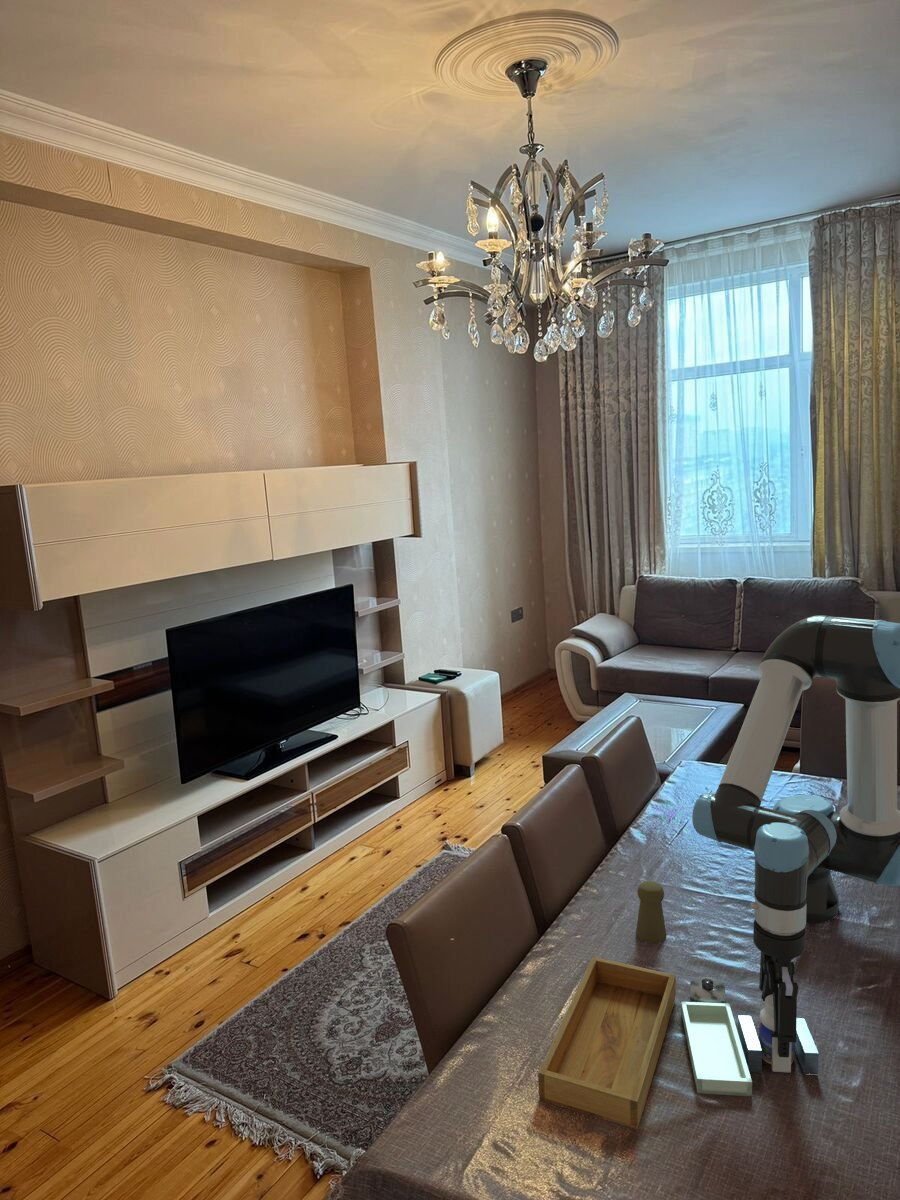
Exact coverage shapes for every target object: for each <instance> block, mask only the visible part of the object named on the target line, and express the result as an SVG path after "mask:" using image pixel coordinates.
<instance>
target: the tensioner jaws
mask: <svg viewBox="0 0 900 1200" xmlns="http://www.w3.org/2000/svg"><path fill="white" fill-rule="evenodd" d="M754 1024H755V1023H754V1022H753V1019H752V1016H751V1015H738V1017H737V1032H738V1035H739V1039H740V1042H741V1046H742V1049H743V1053H744V1056H745V1059H746V1063H747V1066H748V1070H749V1073H751V1074H753V1073H755V1074H762V1066H763V1065H762V1064H763V1063H762V1061H763V1059H762V1049H761V1046H760V1043H759V1036H758V1034H757V1030H756V1027H755V1025H754ZM796 1037H797V1040H796V1043H795V1051H794V1053H795V1055H796V1056H797V1059H799V1060H798V1062H799V1065H800V1068H801V1067H802V1068H801V1069H803V1070H802V1073H803V1072H804V1073H803V1075H804V1074H809V1073H810V1074H818V1075H819V1057H820V1056H819V1055H820V1053H819V1051H818V1049H817V1045H816V1044H815V1041H814V1039H813V1036H812V1034H811V1032H810V1029H809V1027H808V1024H807V1022H806V1020H805V1018H803V1017H802V1018H801V1017H800V1018H799V1017H797V1025H796Z"/></svg>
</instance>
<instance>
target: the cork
mask: <svg viewBox="0 0 900 1200" xmlns="http://www.w3.org/2000/svg"><path fill="white" fill-rule="evenodd" d="M637 896H638V899H639V900H640V901H639V906H638V907H639V908H638V915H637V922H636V930H635V936H636V937H637V939H639V940H640V942H641V941H642V942H644V943H646V944H659V943H662V942H664V941H665V940H667V931H666V930H667V929H666V924H665V916H664V910H663V905H662V903H663V902H662V901H663V900H664V896H665V890H664V887H663V886H662V885H661V884H660V883H659V882H656V881H652V880H648V881H647V880H646V881H643V882H640V884H639V885H638V888H637Z"/></svg>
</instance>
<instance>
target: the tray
mask: <svg viewBox="0 0 900 1200" xmlns="http://www.w3.org/2000/svg"><path fill="white" fill-rule="evenodd" d="M676 982H677V981H676V975H675V974H672V973H668V972H662V971H658V970H655V969H650V968H646V967H645V968H644V967H641V966H636V965H633V964H627V963H624V962H618V961H614V960H609V959H606V958H605V959H604V958H600V957H596V956H592V958H591V960H590V961H589V963H588V966H587V968H586V970H585V972H584V974H583V976H582V979H581V982H580V983H579V985H578V987H577V989H576V991H575V994H574V995H573V998H572V1000H571V1002H570V1005H569V1006H568V1008H567V1011H566V1013H565V1014H564V1017H563V1019H562V1021H561V1023H560V1025H559V1027H558V1030H557V1032H556V1034H555V1036H554V1038H553V1040H552V1043H551V1044H550V1047H549V1049H548V1051H547V1053H546V1055H545V1056H544V1060H543V1062H542V1063H541V1065H540V1068H539V1070H538V1071H537V1074H538V1075H537V1077H538V1096H539V1101H542V1102H544V1103H548V1104H551V1103H552V1105H554V1106H558V1105H559V1106H558V1107H561V1106H563V1107H562V1108H564V1107H566V1108H565V1109H567V1108H570V1109H569V1110H571V1109H573V1110H572V1111H574V1110H576V1111H575V1112H577V1111H579V1112H578V1113H581V1112H583V1113H582V1114H585V1115H587V1116H591V1117H594V1116H595V1118H598V1119H601V1118H602V1120H604V1119H605V1121H607V1120H609V1121H608V1122H611V1121H612V1122H611V1123H614V1122H615V1123H614V1124H618V1125H621V1126H625V1127H627V1126H628V1128H631V1129H634V1130H638V1129H639V1126H640V1123H641V1120H642V1115H643V1113H644V1108H645V1106H646V1102H647V1098H648V1095H649V1091H650V1087H651V1085H652V1084H651V1083H652V1081H653V1078H654V1074H655V1070H656V1067H657V1064H658V1060H659V1057H660V1053H661V1049H662V1046H663V1043H664V1039H665V1035H666V1032H667V1028H668V1025H669V1022H670V1019H671V1015H672V1011H673V1007H674V1005H675V1001H676V996H677V995H676V989H677V987H676V986H677V985H676V984H677V983H676ZM555 1104H556V1105H555Z"/></svg>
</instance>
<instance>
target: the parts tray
mask: <svg viewBox="0 0 900 1200" xmlns="http://www.w3.org/2000/svg"><path fill="white" fill-rule="evenodd" d="M680 1002H681V1007H680V1008H681V1010H680V1011H681V1019H682V1024H683V1029H684V1034H685V1035H684V1036H685V1039H686V1043H687V1044H686V1045H687V1048H688V1055H689V1059H690V1064H691V1070H692V1073H693V1075H692V1076H693V1078H694V1084H695V1088H696V1093H697V1094H701V1095H702V1094H703V1095H704V1094H706V1095H720V1096H721V1095H722V1096H738V1097H739V1096H740V1097H753V1080H752V1078H751V1074H750V1073H751V1072H749V1070H748V1066H747V1063H746V1059H745V1056H744V1053H743V1049H742V1046H741V1042H740V1039H739V1035H738V1028H737V1026H736V1022H735V1018H734V1016H733V1015H734V1014H733V1012H732V1009H731V1005H730V1003H702V1002H693V1001H680Z"/></svg>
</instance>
